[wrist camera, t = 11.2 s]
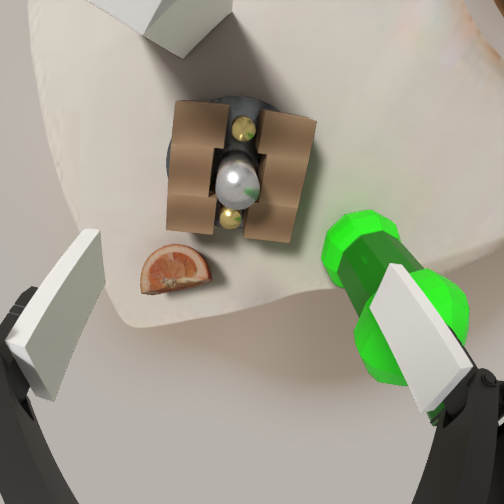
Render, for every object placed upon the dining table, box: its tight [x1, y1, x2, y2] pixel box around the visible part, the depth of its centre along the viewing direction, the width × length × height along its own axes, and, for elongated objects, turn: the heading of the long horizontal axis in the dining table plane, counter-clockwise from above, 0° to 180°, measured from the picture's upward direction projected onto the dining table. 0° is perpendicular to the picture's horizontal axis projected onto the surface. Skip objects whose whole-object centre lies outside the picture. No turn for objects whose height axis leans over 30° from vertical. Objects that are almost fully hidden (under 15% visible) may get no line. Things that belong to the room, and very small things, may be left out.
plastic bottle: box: [321, 210, 469, 426], centre depth 26 cm, size 10×10×25 cm
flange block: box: [166, 100, 317, 243], centre depth 28 cm, size 12×12×4 cm
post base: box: [166, 96, 280, 230], centre depth 27 cm, size 14×14×9 cm
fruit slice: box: [140, 244, 212, 295], centre depth 34 cm, size 8×7×5 cm
